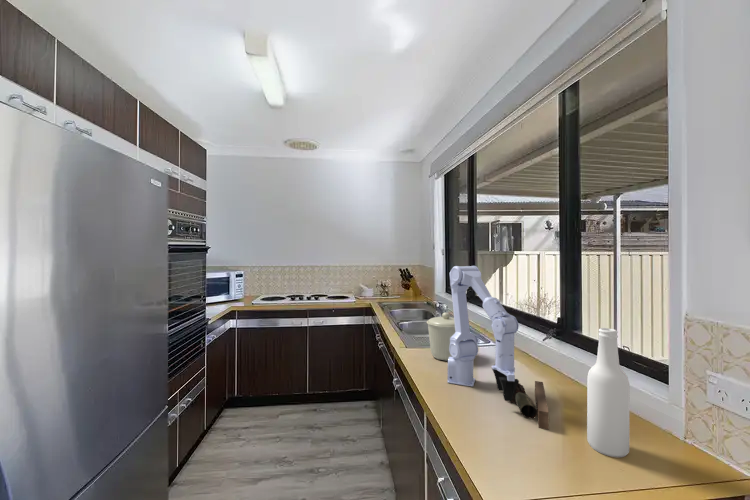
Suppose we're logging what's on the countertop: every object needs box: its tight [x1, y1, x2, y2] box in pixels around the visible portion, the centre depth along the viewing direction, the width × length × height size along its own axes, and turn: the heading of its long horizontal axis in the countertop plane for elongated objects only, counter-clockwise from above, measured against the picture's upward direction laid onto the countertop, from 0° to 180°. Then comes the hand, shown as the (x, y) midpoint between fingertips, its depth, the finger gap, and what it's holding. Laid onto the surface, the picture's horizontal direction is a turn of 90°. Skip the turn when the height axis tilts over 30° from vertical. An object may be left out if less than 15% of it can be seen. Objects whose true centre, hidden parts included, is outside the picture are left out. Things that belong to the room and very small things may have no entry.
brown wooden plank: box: [534, 380, 550, 430], centre depth 106 cm, size 2×24×5 cm, turn 157°
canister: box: [426, 312, 464, 362], centre depth 158 cm, size 18×18×21 cm
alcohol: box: [586, 327, 630, 458], centre depth 86 cm, size 9×9×30 cm
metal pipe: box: [508, 382, 538, 419], centre depth 110 cm, size 18×7×6 cm, turn 170°
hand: (504, 395), depth 110 cm, fingers open, 7 cm apart
